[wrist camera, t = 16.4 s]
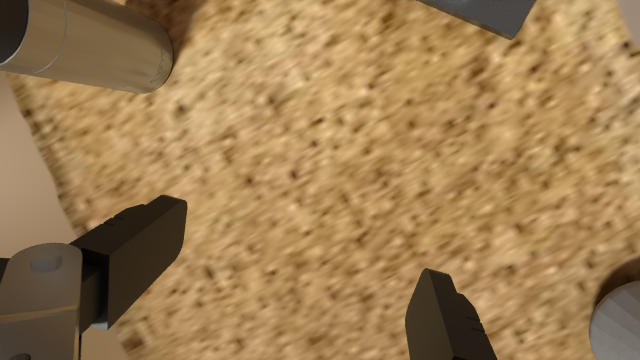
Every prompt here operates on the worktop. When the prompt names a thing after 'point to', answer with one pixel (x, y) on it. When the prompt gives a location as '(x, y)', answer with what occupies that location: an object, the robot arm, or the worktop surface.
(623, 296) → the coffee pot
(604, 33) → the worktop surface
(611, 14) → the worktop surface
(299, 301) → the worktop surface
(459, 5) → the duct collar
